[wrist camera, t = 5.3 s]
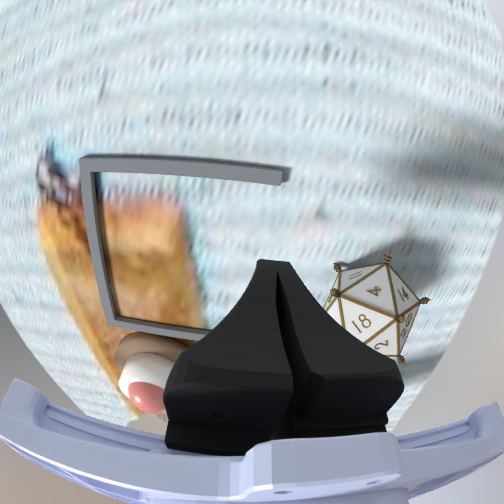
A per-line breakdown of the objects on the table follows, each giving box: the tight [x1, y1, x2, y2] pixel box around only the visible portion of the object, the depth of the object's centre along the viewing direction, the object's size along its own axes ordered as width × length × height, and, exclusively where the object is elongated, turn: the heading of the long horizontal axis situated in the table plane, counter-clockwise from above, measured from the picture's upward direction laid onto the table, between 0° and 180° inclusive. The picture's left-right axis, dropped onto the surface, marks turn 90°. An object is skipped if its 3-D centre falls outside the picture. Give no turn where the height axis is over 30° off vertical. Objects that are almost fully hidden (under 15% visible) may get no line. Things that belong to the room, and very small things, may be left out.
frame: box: [79, 157, 283, 341], centre depth 23 cm, size 17×15×1 cm
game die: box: [323, 251, 431, 365], centre depth 20 cm, size 9×8×10 cm
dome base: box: [115, 332, 189, 372], centre depth 30 cm, size 10×10×2 cm
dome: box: [119, 353, 175, 413], centre depth 27 cm, size 7×7×5 cm
